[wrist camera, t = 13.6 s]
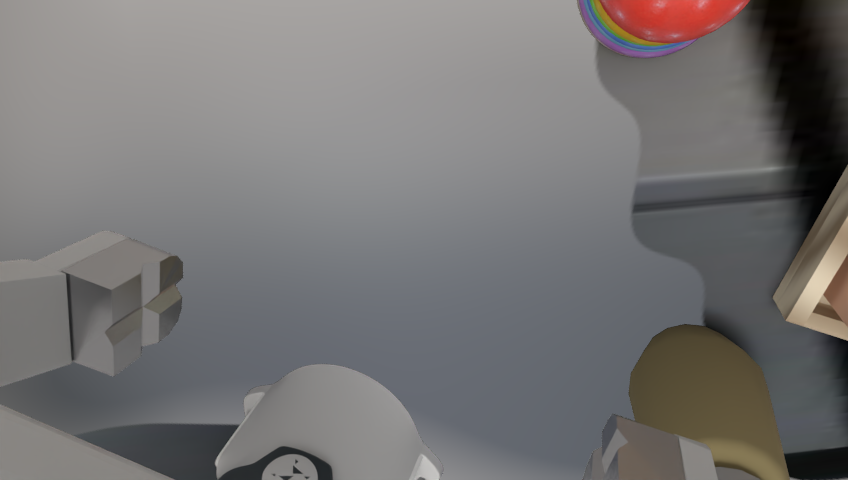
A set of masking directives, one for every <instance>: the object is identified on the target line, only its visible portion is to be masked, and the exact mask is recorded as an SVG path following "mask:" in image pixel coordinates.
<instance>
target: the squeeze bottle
mask: <svg viewBox="0 0 848 480" xmlns="http://www.w3.org/2000/svg"><path fill="white" fill-rule="evenodd" d="M629 397H630V401H631V405H632V409H633V413H634V418H635V421H636V422H639V423H642V424H645V425H647V426H650V427H653V428H656V429H659V430H662V431H665V432H667V433H670V434H673V435H674V434H676V435H679V436H682V437H685V438H688V439H691V440H694V441H697V442H700V443H703V444H706V445H707V446H708V447H709V448H710V449H711V453H712V457H713V461H714V465H715V469H716V473H717V477H718V480H790V478H789V474H788V470H787V466H786V462H785V458H784V453H783V449H782V445H781V441H780V437H779V433H778V428H777V424H776V420H775V416H774V412H773V408H772V403H771V399H770V395H769V391H768V388H767V384H766V381H765V378H764V375H763V372H762V369H761V368H760V367H759V365H758V364H757V363H756V362H755V361H754V360H753V359H752V358H751V357H750V356H749V355H748V354H747V353H746V352H745V351H744V350H743V349H741V348H740V347H738V346H737V345H736V344H734V343H733V342H731V341H730V340H729V339H727V338H726V337H724V336H723V335H722V334H720V333H718V332H716V331H714V330H712V329H709V328H707V327H705V326H699V325H687V324H684V325H679V326H674V327H670V328H667V329H665V330H663V331H662V332H660V333H659V334H657V335H656V336H654V337H653V338H652V340H651V341H650V343H649V344H648V346H647V347H646V348H645V350H644V352H643V354H642V355H641V357H640V359H639V360H638V362H637V364H636V365H635V367H634V369H633V371H632V372H631V377H630V386H629Z"/></svg>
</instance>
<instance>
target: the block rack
mask: <svg viewBox="0 0 848 480" xmlns="http://www.w3.org/2000/svg"><path fill="white" fill-rule="evenodd" d="M847 254H848V165H847V167H846V169H845V171H844V172H843V174H842V176H841V178H840V179H839V181H838V183H837V185H836V186H835V188H834V190H833V192H832V193H831V195H830V197H829V199H828V200H827V202H826V204H825V206H824V207H823V209H822V211H821V213H820V215H819V216H818V218H817V220H816V222H815V223H814V225H813V227H812V229H811V230H810V232H809V234H808V236H807V237H806V239H805V241H804V243H803V244H802V246H801V248H800V250H799V251H798V253H797V255H796V257H795V259H794V260H793V262H792V264H791V266H790V267H789V269H788V271H787V273H786V274H785V276H784V278H783V280H782V281H781V283H780V285H779V287H778V288H777V290H776V292H775V294H774V295H773V297H772V298H773V299H774V301H775V303H776V305H777V306H778V308H779V310H780V312H781V313H782V315H783V317H784V319H785V320H786V321H788V322H791V323H795V324H798V325H801V326H804V327H807V328H810V329H813V330H816V331H820V332H823V333H826V334H829V335H832V336H835V337H838V338H842V339H845V340H848V327H847V326H846V325H845V323H844V322H843V321H842V319H841V318H840V317H839V315H838V314H837V313H836V311H835V310H834V309H833V307H832V306H831V305H830V303H829V302H828V301H827V299H826V298H825V297H824V295H823V294H824V292H825V290H826V289H827V287H828V285H829V284H830V282H831V280H832V279H833V277H834V276H835V274H836V272H837V271H838V269H839V267H840V266H841V264H842V263H843V261H844V259H845V258H846V256H847Z"/></svg>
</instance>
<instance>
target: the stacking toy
mask: <svg viewBox="0 0 848 480" xmlns="http://www.w3.org/2000/svg"><path fill="white" fill-rule="evenodd" d="M749 1H750V0H577V3H578V8H579V11H580V15H581V17H582V20H583V22H584V24H585V25H586V27H587V29H588V30H589V32H590V33H591V34H592V35H593V36H594V37H595V39H596V40H597V41H599V42H600V43H601V44H602V45H604V46H605V47H607V48H608V49H610V50H612V51H614V52H616V53H619V54H621V55H625V56H629V57H636V58H652V57H660V56H664V55H668V54H671V53H674V52H676V51H678V50H681V49H683V48H685V47H686V46H688V45H690V44H692V43H693V42H694V41H696V40H697V39H698V38H700V37H702V36H704V35H706V34H709V33H711V32H713V31H715V30H717V29H718V28H720V27H721V26H723V25H724V24H726V23H727V22H729V21H730V20H731V19H732V18H734V17H735V16H736V15H737V14H738V13H739V12H740V11H741V10H742V9H743V8H744V7H745V6H746V5H747V3H748V2H749Z"/></svg>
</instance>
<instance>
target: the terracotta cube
mask: <svg viewBox="0 0 848 480" xmlns="http://www.w3.org/2000/svg"><path fill="white" fill-rule="evenodd" d="M823 295H824V297H825V298H826V299H827V301H828V302H829V303H830V305H831V306H832V307H833V309H834V310H835V311H836V313H837V314H838V315H839V317H840V318H841V319H842V321H843V322H844V323H845V325H846V326H847V327H848V254H847V256H846V258H845V259H844V261H843V263H842V264H841V266H840V267H839V269H838V271H837V272H836V274H835V276H834V277H833V279H832V280H831V282H830V284H829V285H828V287H827V289H826V290H825V292H824V294H823Z"/></svg>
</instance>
